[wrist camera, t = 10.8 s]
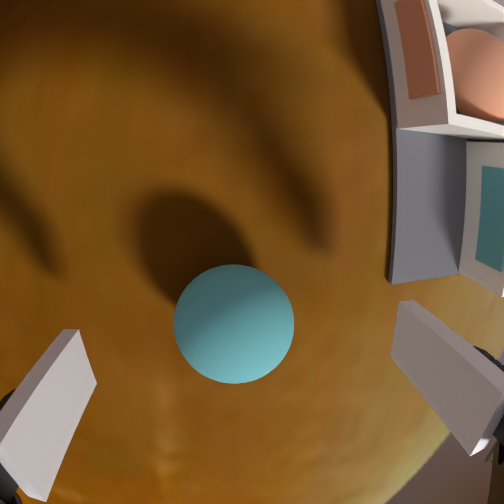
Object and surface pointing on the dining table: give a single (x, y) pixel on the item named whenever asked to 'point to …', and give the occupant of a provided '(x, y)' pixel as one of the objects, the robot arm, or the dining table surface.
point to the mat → (425, 194)
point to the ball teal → (233, 323)
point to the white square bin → (484, 216)
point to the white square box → (435, 63)
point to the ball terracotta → (477, 73)
